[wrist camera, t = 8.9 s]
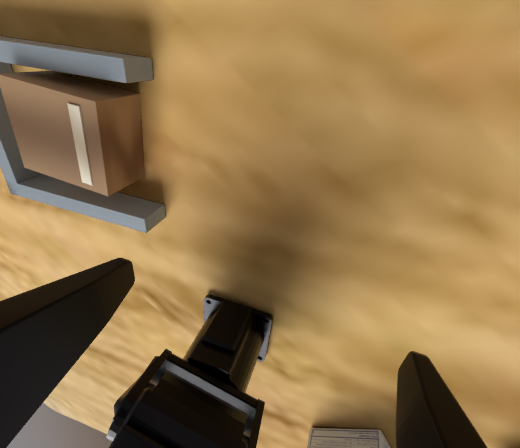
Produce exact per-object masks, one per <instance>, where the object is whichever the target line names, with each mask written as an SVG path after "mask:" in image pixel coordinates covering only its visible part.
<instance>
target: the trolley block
mask: <svg viewBox="0 0 520 448" xmlns="http://www.w3.org/2000/svg"><path fill="white" fill-rule="evenodd" d="M0 88H1V92H2V95H3V98H4V101H5V105H6V108H7V111H8V115H9V118H10V121H11V125H12V128H13V131H14V135H15V138H16V141H17V145H18V148H19V151H20V155H21V158H22V161H23V164H24V168H27V169H30V170H33V171H36V172H39V173H42V174H45V175H47V176H50V177H53V178H56V179H59V180H62V181H65V182H68V183H71V184H74V185H76V186H79V187H82V188H85V189H88V190H91V191H94V192H97V193H100V194H103V195H105V196H110V195H112V194H114V193H115V192H117V191H119V190H121V189H123V188H125V187H126V186H128V185H130V184H132V183H134V182H135V181H137V180H139V179H141V178H143V177H145V176H144V158H143V139H142V120H141V102H140V94H139V93H135V92H131V91H128V90H124V89H120V88H116V87H113V86H109V85H105V84H101V83H98V82H94V81H90V80H86V79H83V78H79V77H75V76H71V75H68V74H64V73H60V72H56V71H38V72H20V73H2V74H0Z"/></svg>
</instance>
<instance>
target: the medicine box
mask: <svg viewBox="0 0 520 448" xmlns="http://www.w3.org/2000/svg"><path fill="white" fill-rule="evenodd" d="M307 448H391V447H390V445H389V444H388V442H387V440H386V439H385V437H384V435H383V433H382V432H381V430H379V429H336V428H310V433H309V439H308V446H307Z"/></svg>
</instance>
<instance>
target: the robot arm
mask: <svg viewBox="0 0 520 448" xmlns="http://www.w3.org/2000/svg"><path fill="white" fill-rule="evenodd" d="M134 281H135V276H134V270H133V265H132V262H131V261H130V260H127V259H123V258H117V259H114V260H111V261H109V262H106V263H103V264H100V265H98V266H95V267H92V268H90V269H87V270H84V271H81V272H79V273H76V274H73V275H70V276H68V277H65V278H62V279H60V280H57V281H54V282H51V283H49V284H46V285H43V286H40V287H38V288H35V289H32V290H30V291H27V292H24V293H21V294H19V295H16V296H13V297H10V298H8V299H5V300H2V301H0V448H6V447H7V446H8V445H9V443H10V442H11V441H12V440H13V439H14V437H15V436H16V435H17V433H18V432H19V431H20V430H21V429H22V428H23V426H24V425H25V424H26V423H27V421H28V420H29V419H30V418H31V417H32V415H33V414H34V413H35V411H36V410H37V409H38V408H39V406H40V405H41V404H42V403H43V402H44V401H45V399H46V398H47V397H48V396H49V394H50V393H51V392H52V391H53V390H54V388H55V387H56V386H57V385H58V383H59V382H60V381H61V380H62V378H63V377H64V376H65V375H66V374H67V372H68V371H69V370H70V369H71V367H72V366H73V365H74V364H75V363H76V361H77V360H78V359H79V358H80V356H81V355H82V354H83V353H84V351H85V350H86V349H87V348H88V347H89V345H90V344H91V343H92V342H93V340H94V339H95V338H96V337H97V336H98V334H99V333H100V332H101V331H102V329H103V328H104V327H105V326H106V324H107V323H108V322H109V320H110V319H111V317H112V316H113V314H114V313H115V311H116V310H117V308H118V307H119V305H120V304H121V302H122V301H123V299H124V298H125V296H126V295H127V293H128V292H129V290H130V289H131V287H132V286H133V284H134ZM272 320H273V318H272V316H271V315H270V314H267V313H264V312H261V311H258V310H255V309H252V308H249V307H246V306H243V305H240V304H237V303H233V302H230V301H227V300H224V299H221V298H218V297H215V296H212V295H207V296H206V297H205V298H204V325H203V327H202V328H201V330H200V332H199V333H198V335H197V336H196V338H195V340H194V341H193V343H192V345H191V346H190V348H189V350H188V351H187V353H186V355H185V356H184V358H183V359H181V358H179V357H178V356H176V355H174V354H172V352H171V351H169V350H167V349H165V350H164V352H163V353H162V354H161V355H160V356H155V357H154V359H153V360H152V362H151V363H150V365H149V366H148V367H147V369H146V370H145V372H144V373H143V374H142V375H141V376H140V378H139V379H138V380H137V381H136V382H135V383H134V384H133V385H132V386H131V387H130V388H129V389H128V390H127V391H126V392H125V393H124V394H123V395H122V396H121V397H120V398H119V399H118V400H117V402H116V403H115V405H114V414H115V416H114V418H113V421H112V424H111V426H110V428H109V431H108V433H107V436H106V439H107V440H109V441H111V442H112V443H111V445H110V447H109V448H256V445H257V440H258V435H259V430H260V424H261V419H262V414H263V409H264V404H265V402H263V401H261V400H260V399H258V400H257V399H255V398H253V397H251V396H249V395H248V394H246V393H245V392H246V389H247V386H248V383H249V381H250V378H251V375H252V372H253V370H254V367H255V364H256V361H257V360H258V361H264V360H265V357H266V352H267V347H268V341H269V336H270V331H271V326H272ZM396 447H397V448H487V446H486V445H485V443H484V442H483V440H482V439H481V437H480V435H479V434H478V432H477V431H476V429H475V428H474V426H473V425H472V423H471V422H470V420H469V419H468V417H467V416H466V414H465V413H464V411H463V410H462V408H461V406H460V405H459V403H458V402H457V400H456V399H455V397H454V396H453V394H452V393H451V391H450V390H449V388H448V387H447V385H446V384H445V382H444V380H443V379H442V377H441V376H440V374H439V373H438V371H437V370H436V368H435V367H434V365H433V364H432V362H431V361H430V359H429V358H428V357H427V356H426V355H423V354H420V353H417V352H414V351H411V352H409V353H408V355H407V356H406V358H405V360H404V361H403V363H402V364H401V366H400V368H399V371H398V381H397V407H396Z"/></svg>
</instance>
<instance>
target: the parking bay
mask: <svg viewBox="0 0 520 448" xmlns="http://www.w3.org/2000/svg"><path fill="white" fill-rule="evenodd" d="M11 64H16V65H22V66H28V67H34V68H40V69H46V70H51V71H57V72H63V73H69V74H75V75H81V76H87V77H93V78H99V79H104V80H110V81H116V82H122V83H132V82H140V81H149V80H153V69H152V58H147V57H140V56H134V55H127V54H120V53H113V52H106V51H99V50H92V49H86V48H79V47H72V46H65V45H58V44H51V43H44V42H37V41H31V40H24V39H17V38H10V37H3V36H0V74H2V73H13V70H12V67H11ZM0 167H1V170H2V172H3V175H4V177H5V180H6V182H7V185H8V187H9V190H10V192H11V194H14V195H18V196H21V197H25V198H28V199H32V200H35V201H38V202H42V203H45V204H49V205H52V206H56V207H59V208H62V209H66V210H69V211H73V212H76V213H80V214H83V215H87V216H90V217H93V218H97V219H100V220H104V221H107V222H111V223H114V224H117V225H121V226H124V227H128V228H131V229H135V230H138V231H142V232H145V233H147V232H148V231H149V230H151V229H152V228H153V227H154V226H155V225H157V224H158V223H159V222H160V221H162V220H163V219H164V218H165V206H164V204H160V203H156V202H153V201H149V200H145V199H141V198H138V197H134V196H130V195H126V194H122V193H119V192H115V193H114V194H112V195H110V196H105V195H103V194H100V193H97V192H94V191H91V190H88V189H85V188H82V187H79V186H76V185H74V184H71V183H68V182H65V181H62V180H59V179H56V178H53V177H50V176H47V175H45V174H42V173H39V172H36V171H33V170H30V169H27V168H24V164H23V161H22V158H21V155H20V151H19V148H18V145H17V141H16V138H15V135H14V131H13V128H12V125H11V121H10V118H9V115H8V111H7V108H6V105H5V101H4V98H3V95H2V92H1V88H0Z"/></svg>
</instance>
